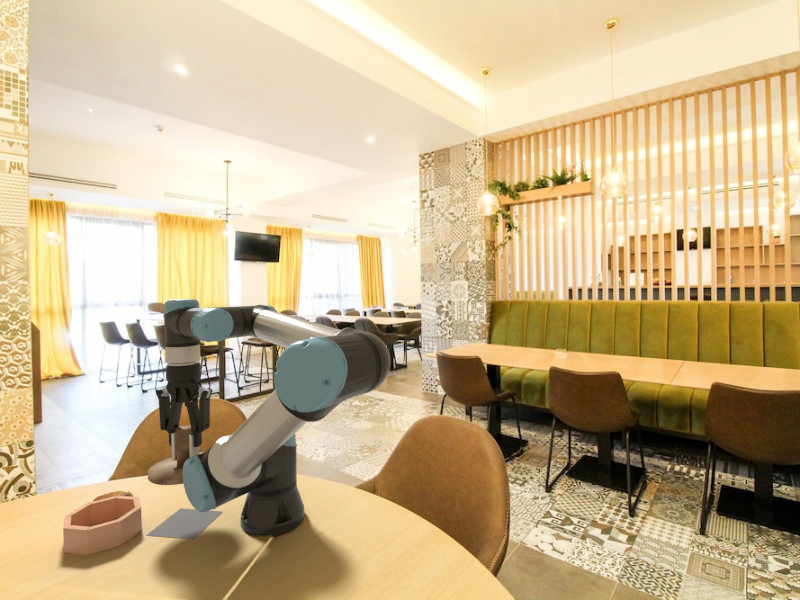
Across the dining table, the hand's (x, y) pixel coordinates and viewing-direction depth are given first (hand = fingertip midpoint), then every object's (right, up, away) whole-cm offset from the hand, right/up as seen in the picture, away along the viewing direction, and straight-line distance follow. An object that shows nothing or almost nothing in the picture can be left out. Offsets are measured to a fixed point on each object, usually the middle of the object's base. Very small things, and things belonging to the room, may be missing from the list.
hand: (185, 458), depth 101 cm
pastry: (-25, -17, +10) cm, 32 cm away
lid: (0, -3, 0) cm, 3 cm away
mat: (0, -16, +1) cm, 16 cm away
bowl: (-17, -17, -4) cm, 24 cm away
